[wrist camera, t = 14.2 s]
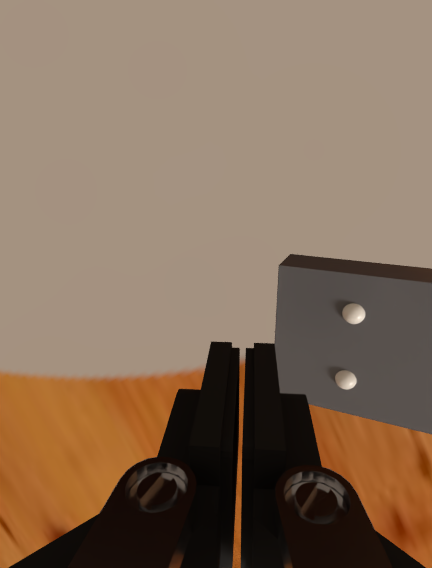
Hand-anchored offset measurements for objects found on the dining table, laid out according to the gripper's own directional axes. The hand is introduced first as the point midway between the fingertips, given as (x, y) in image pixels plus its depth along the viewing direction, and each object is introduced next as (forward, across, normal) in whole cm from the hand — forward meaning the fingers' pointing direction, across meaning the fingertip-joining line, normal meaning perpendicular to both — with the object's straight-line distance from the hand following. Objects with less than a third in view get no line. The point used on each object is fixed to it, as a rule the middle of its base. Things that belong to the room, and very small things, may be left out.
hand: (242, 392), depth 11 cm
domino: (+4, -1, 0) cm, 5 cm away
